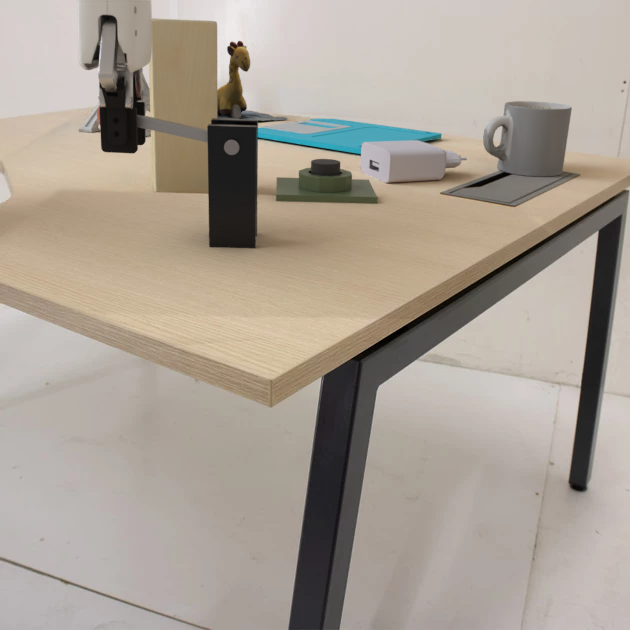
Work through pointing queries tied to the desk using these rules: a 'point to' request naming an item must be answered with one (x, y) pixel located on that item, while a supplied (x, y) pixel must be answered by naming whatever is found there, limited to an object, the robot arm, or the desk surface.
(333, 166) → the button
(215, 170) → the bracket
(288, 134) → the diskette
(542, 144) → the coffee mug
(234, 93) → the stuffed giraffe
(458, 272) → the desk surface
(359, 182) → the control block
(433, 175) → the charger
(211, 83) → the tall wooden block
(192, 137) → the lever
